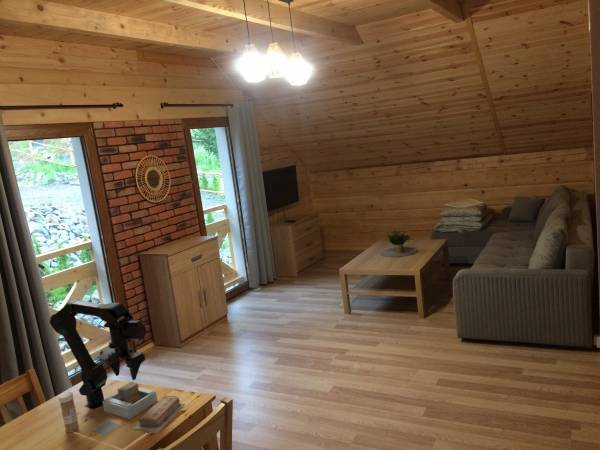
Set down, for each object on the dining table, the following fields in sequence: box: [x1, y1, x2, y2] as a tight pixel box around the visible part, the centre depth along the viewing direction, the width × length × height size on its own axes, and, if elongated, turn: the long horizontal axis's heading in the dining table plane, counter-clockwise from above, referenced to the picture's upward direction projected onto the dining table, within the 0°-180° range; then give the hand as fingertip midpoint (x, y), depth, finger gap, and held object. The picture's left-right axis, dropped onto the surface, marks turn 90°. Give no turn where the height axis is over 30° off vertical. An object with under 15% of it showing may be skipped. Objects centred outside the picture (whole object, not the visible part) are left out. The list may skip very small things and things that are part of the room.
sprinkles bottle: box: [58, 391, 80, 434], centre depth 184 cm, size 5×5×13 cm
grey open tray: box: [102, 386, 158, 420], centre depth 196 cm, size 14×13×5 cm
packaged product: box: [132, 395, 186, 434], centre depth 186 cm, size 18×5×10 cm
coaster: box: [91, 420, 122, 436], centre depth 182 cm, size 7×7×1 cm
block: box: [117, 381, 140, 405], centre depth 195 cm, size 4×6×8 cm, turn 147°
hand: (125, 377), depth 194 cm, fingers open, 9 cm apart
